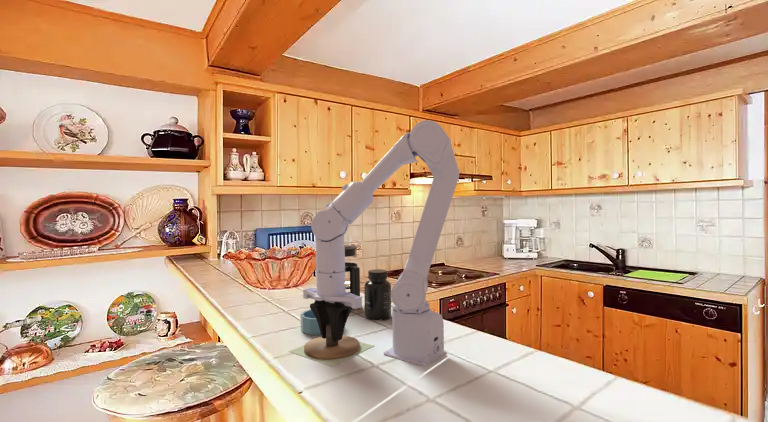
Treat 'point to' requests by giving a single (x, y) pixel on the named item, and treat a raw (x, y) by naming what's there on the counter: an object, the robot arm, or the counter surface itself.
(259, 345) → the counter surface
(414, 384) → the counter surface
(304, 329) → the teal bowl
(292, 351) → the sage mat
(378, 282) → the supplement bottle
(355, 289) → the french press
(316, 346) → the walnut lid
